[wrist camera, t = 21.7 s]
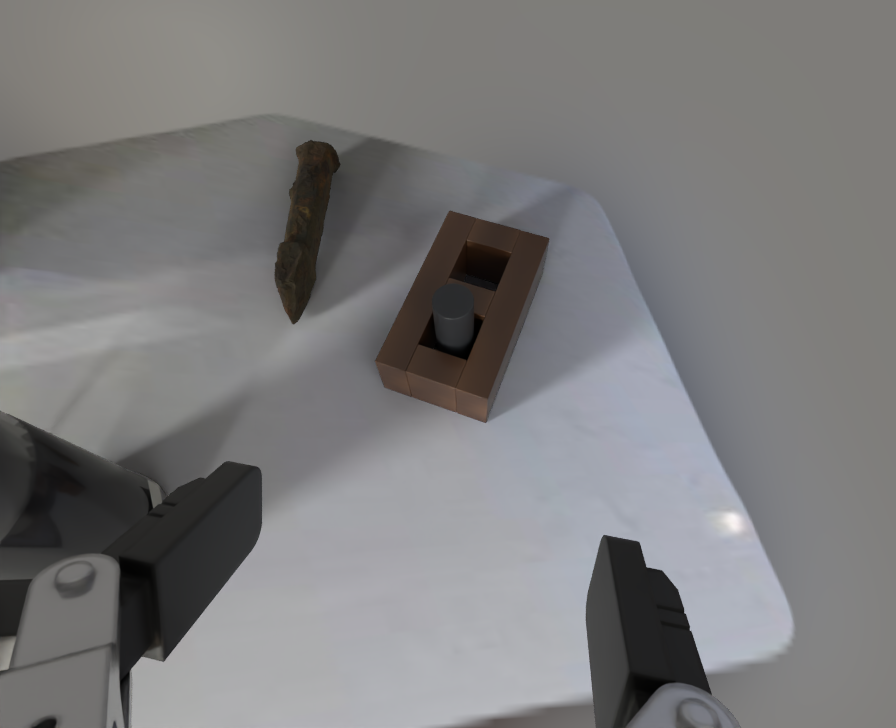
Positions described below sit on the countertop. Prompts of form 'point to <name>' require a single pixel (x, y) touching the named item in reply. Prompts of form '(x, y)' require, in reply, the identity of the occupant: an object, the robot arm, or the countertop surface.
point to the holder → (495, 315)
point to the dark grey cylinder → (454, 320)
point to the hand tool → (304, 226)
